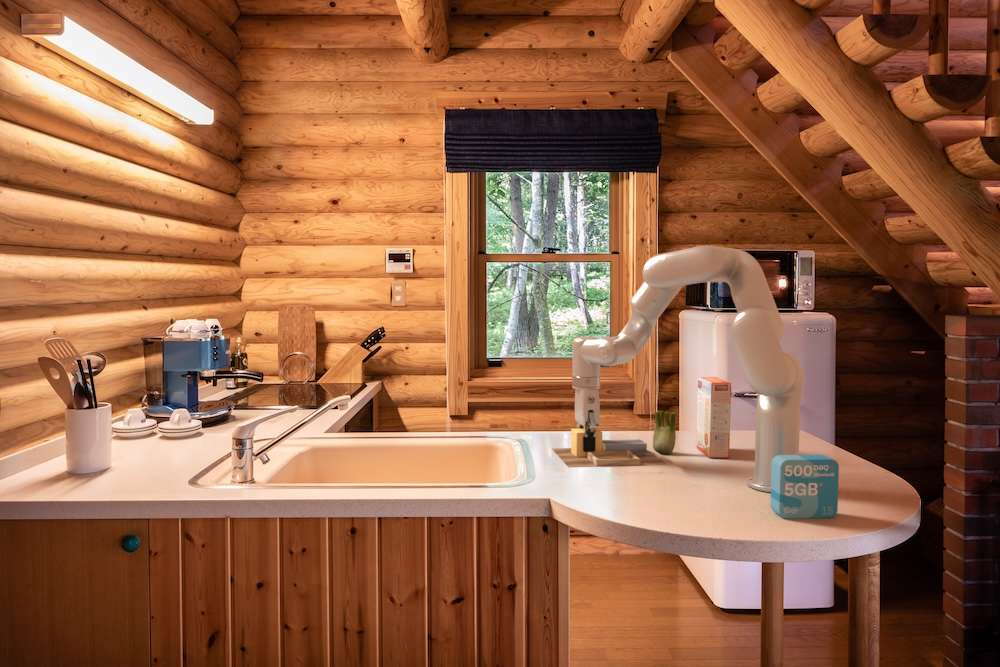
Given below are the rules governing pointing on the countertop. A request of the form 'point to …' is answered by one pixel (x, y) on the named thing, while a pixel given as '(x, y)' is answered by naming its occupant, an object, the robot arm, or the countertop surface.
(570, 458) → the board
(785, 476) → the data package
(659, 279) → the robot arm
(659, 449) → the fennel bulb
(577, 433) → the block
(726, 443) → the cracker box
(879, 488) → the countertop surface
